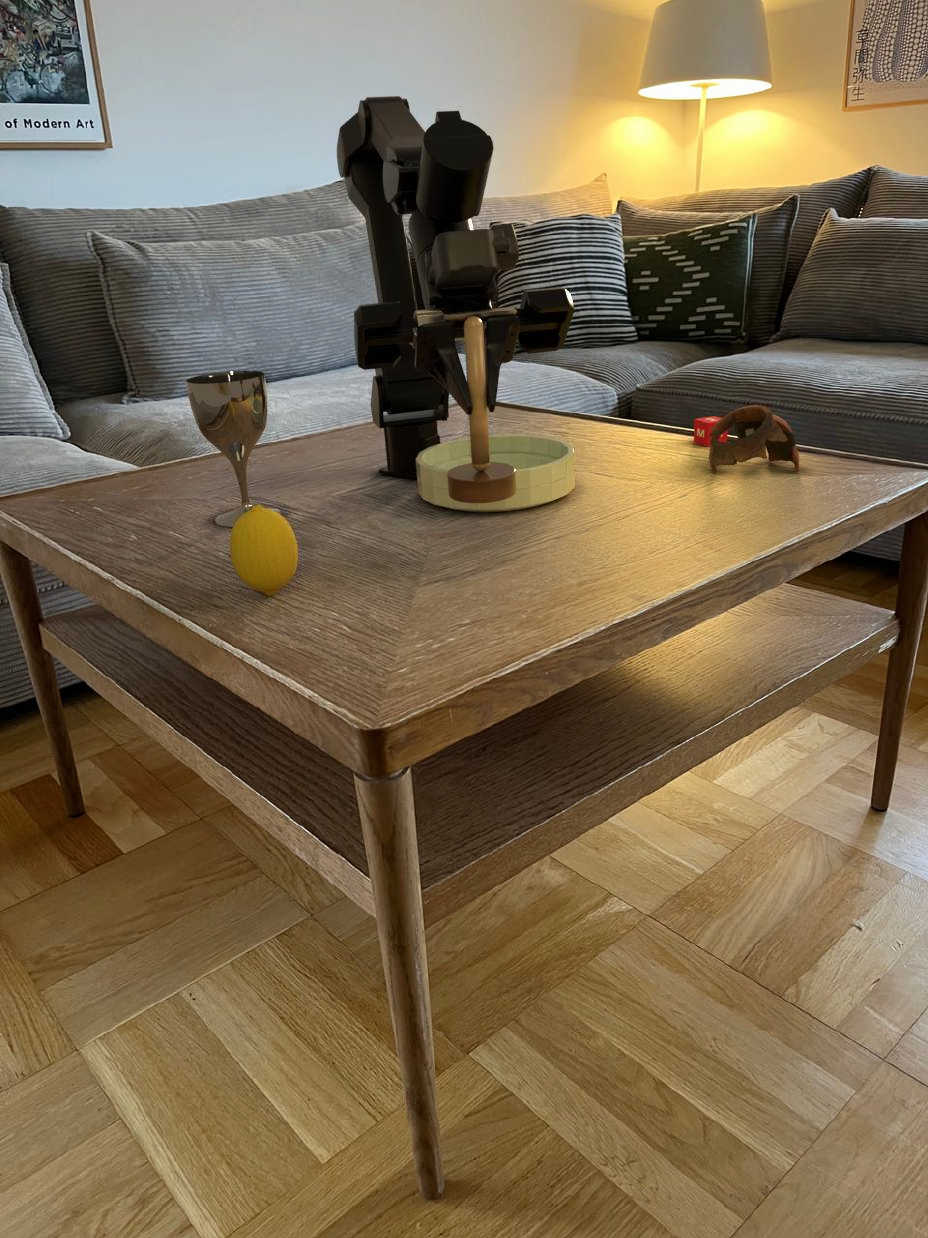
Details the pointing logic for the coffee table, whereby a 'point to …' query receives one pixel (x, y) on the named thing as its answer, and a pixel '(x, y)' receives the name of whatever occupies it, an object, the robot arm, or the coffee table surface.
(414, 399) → the robot arm
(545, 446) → the bowl
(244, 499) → the wine glass
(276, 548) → the lemon
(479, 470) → the stirring stick
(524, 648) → the coffee table surface
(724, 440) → the dice
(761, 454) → the brown arched hollow part
